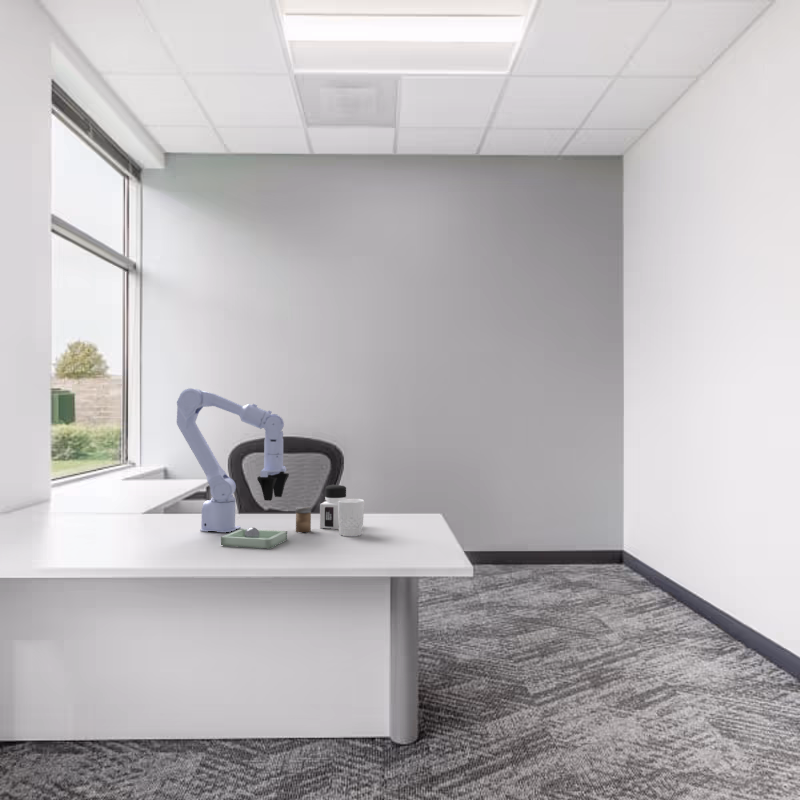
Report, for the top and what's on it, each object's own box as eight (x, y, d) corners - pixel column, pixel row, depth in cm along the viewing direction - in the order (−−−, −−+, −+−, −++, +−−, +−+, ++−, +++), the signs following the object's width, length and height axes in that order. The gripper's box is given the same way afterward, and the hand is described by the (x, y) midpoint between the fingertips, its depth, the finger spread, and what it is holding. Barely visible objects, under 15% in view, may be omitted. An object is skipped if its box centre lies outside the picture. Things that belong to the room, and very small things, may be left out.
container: (343, 529, 195) (344, 487, 195) (319, 528, 196) (320, 486, 197) (350, 525, 202) (351, 484, 203) (327, 524, 204) (327, 483, 204)
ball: (246, 542, 174) (240, 540, 171) (249, 528, 176) (244, 525, 172) (259, 544, 174) (254, 542, 170) (263, 529, 175) (257, 527, 171)
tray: (220, 546, 171) (220, 537, 171) (241, 537, 182) (241, 528, 182) (269, 548, 168) (269, 539, 168) (287, 539, 179) (287, 531, 179)
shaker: (293, 532, 190) (293, 508, 190) (298, 529, 194) (299, 506, 194) (307, 533, 189) (308, 509, 189) (313, 530, 193) (313, 507, 193)
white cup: (331, 534, 188) (332, 500, 188) (351, 530, 194) (351, 497, 194) (349, 538, 182) (350, 503, 182) (369, 534, 188) (369, 500, 188)
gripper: (276, 456, 187) (275, 502, 186) (294, 452, 201) (294, 495, 201) (254, 455, 188) (253, 501, 188) (274, 452, 202) (273, 494, 202)
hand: (273, 498), depth 194 cm, fingers open, 7 cm apart
